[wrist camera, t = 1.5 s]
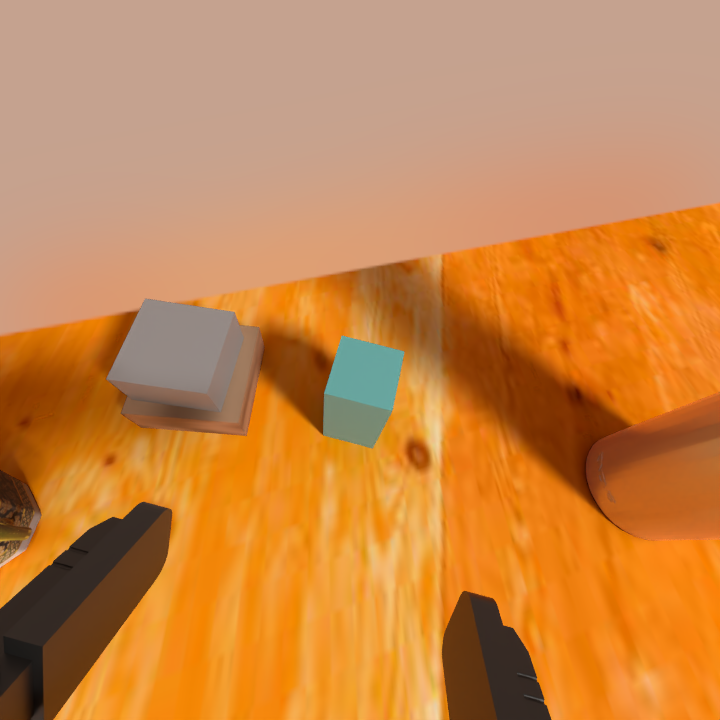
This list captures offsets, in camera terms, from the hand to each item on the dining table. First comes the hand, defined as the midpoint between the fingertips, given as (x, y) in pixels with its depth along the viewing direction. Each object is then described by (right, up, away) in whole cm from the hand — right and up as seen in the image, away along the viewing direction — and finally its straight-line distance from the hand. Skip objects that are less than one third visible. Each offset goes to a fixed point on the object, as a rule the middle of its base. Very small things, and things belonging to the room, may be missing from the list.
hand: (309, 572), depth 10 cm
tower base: (-13, +3, +24) cm, 28 cm away
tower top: (-13, +5, +21) cm, 25 cm away
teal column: (+1, 0, +24) cm, 24 cm away
